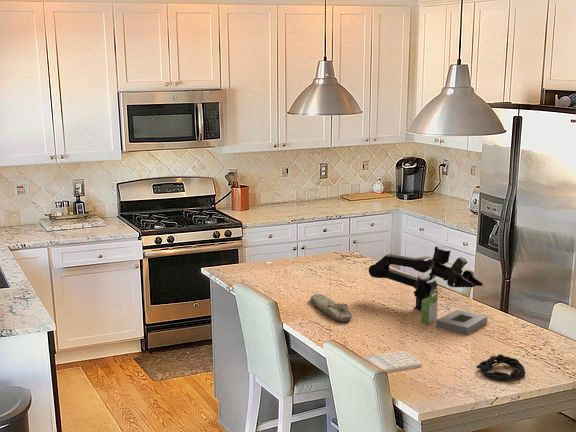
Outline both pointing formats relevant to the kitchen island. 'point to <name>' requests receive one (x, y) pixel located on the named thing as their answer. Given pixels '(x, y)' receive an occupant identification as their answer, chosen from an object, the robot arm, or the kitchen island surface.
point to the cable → (495, 375)
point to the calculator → (394, 361)
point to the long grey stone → (332, 308)
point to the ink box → (429, 308)
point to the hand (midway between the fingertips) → (478, 285)
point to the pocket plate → (461, 322)
